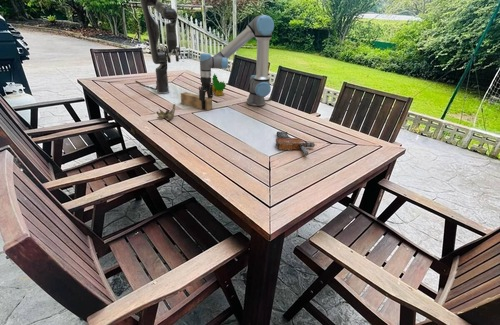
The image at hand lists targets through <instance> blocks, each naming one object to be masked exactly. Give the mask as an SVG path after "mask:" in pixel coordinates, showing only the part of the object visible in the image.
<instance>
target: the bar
mask: <svg viewBox="0 0 500 325" xmlns="http://www.w3.org/2000/svg"><path fill="white" fill-rule="evenodd" d="M204 101H205V110H204V109H202V104H201V100H199V94H195V93H191V92H187V91H185V92H181V93H180V103H181V105H185V106H188V107H192V108H195V109H200V110H203V111H210V110H213V97H212V98H208V96H205V100H204Z"/></svg>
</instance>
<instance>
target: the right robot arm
mask: <svg viewBox="0 0 500 325" xmlns="http://www.w3.org/2000/svg"><path fill="white" fill-rule="evenodd" d="M274 29H275V23H274V19H273V18H272V17H271V16H269V15H267V14H259V15H257V16H255V17H254V18H253V19H252V20H251V21H250V22H249V23H248V24H247V25H246V27H245V28H244V29H243V30H242V31H241V32H239V34H238V35H236V37H234V38H233V39H232V40H231V41H229V43H227V45H225V46H223V48H222V49H221V50H220V51H218V52H217V53H216V54H214V55H213V56H212V55H211V53H206V52H205V53H204V52H201V53H200V55H199V72H200V73H199V76H200V83H201V86H198V95H199V100H201V104H202V109H201V110H203V109H204V110H203V111H206V110H205V101H204V100H205V97H208V98H212V99H213V98H214V92H213V83H212V69H220V70H227V69H228V68H229V58H231V57H232V56H233V55H234V54H235V53H236V52H237V51H239V50H240V49H241V48H242V47H244V46H245V44H247V43H248V42H249V41H251V40H252V39H253V38H255V39H256V67H255V68H256V70H255V71H256V74H252V75H250V78H249V94H248V96H247V98H246V104H247V105H248V106H253V107H264V106H265V105H266V102H269V101H272V98H271V99H265V97H267V96H268V95H269V94H270V93H271V90H272V88H271V84H270V83H271V82H270V79H271V78H270V76H269V58H270V57H269V56H270V55H269V54H270V41H271V39H272V37H273V36H272V35H273V31H274ZM206 95H207V96H206Z"/></svg>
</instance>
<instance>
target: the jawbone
mask: <svg viewBox="0 0 500 325" xmlns="http://www.w3.org/2000/svg"><path fill="white" fill-rule="evenodd" d="M158 110H159V111H156V115H157V116H156V118H157V119H158V120H163V119H167V121H168V122H169V121H171V120H172V119H173V118H174V116H175V112H176V103H172V109H171V110H169V109H168V108H167V109H166V110H165V111H163V110H162V109H160V108H158Z"/></svg>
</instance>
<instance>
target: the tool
mask: <svg viewBox="0 0 500 325" xmlns="http://www.w3.org/2000/svg"><path fill="white" fill-rule="evenodd" d="M275 144H276V145H275V146H276V148H277V149H278V150H288V151H289V150H300V151H301V152H302V155H303V156H305V157H306V156H309V151H308V150H307V148H314V147H315V146H316V144H315V142H305V141H304V140H303V139H301V138H299V137H290V136H289V135H288V132H287V131H276V139H275Z"/></svg>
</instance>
